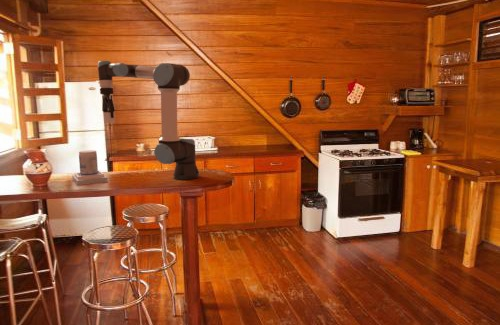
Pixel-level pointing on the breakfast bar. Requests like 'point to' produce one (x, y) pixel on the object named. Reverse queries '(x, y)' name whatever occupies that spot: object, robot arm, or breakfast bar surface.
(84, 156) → the supplement tub
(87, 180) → the base plate
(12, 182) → the breakfast bar surface
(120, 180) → the breakfast bar surface
